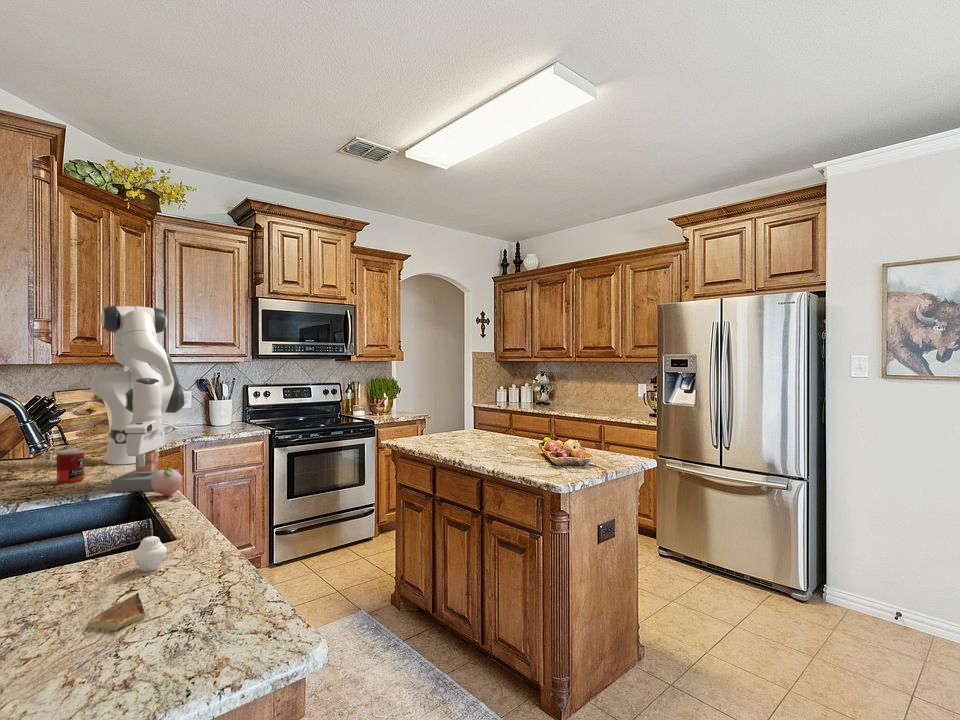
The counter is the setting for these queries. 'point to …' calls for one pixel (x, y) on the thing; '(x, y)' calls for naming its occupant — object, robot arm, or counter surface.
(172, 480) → the decorative fruit
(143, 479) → the base slab
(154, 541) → the muffin
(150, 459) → the terracotta block
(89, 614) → the counter surface
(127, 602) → the shard
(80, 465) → the canned food
